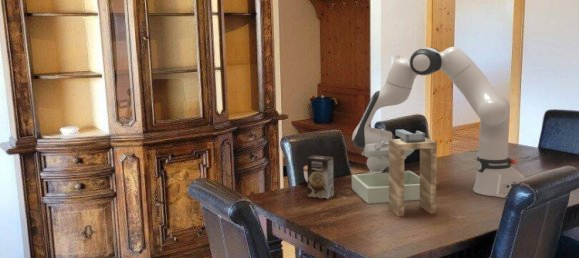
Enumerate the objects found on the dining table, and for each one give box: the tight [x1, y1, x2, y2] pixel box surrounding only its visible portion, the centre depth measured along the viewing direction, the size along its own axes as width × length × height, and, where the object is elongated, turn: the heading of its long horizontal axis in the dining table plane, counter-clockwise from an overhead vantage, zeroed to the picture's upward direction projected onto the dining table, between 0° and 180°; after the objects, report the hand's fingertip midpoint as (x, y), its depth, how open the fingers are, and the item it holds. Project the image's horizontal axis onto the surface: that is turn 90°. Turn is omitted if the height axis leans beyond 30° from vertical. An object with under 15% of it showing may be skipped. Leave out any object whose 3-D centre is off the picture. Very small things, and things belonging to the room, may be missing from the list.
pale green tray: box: [351, 170, 420, 205], centre depth 222 cm, size 26×22×6 cm
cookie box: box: [306, 154, 334, 200], centre depth 221 cm, size 9×6×16 cm
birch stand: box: [388, 136, 438, 217], centre depth 198 cm, size 14×10×26 cm
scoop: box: [395, 129, 426, 143], centre depth 201 cm, size 7×16×3 cm, turn 10°
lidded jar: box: [303, 165, 308, 183], centre depth 239 cm, size 11×11×9 cm
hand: (394, 142), depth 215 cm, fingers open, 8 cm apart
